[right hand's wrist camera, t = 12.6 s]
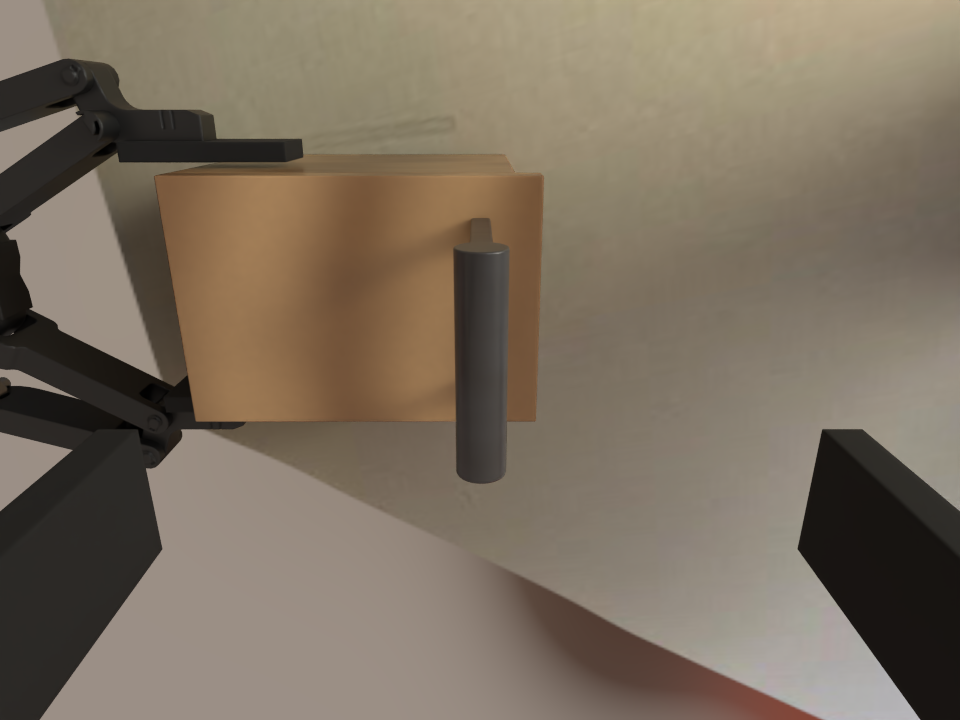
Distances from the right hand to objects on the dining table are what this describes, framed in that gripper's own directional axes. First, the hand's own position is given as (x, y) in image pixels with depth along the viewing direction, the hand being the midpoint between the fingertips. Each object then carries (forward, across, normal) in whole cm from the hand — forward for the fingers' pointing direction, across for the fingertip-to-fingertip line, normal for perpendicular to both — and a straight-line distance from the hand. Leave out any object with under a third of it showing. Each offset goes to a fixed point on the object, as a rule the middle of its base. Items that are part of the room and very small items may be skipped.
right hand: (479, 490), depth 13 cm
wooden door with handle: (+14, -5, 0) cm, 15 cm away
